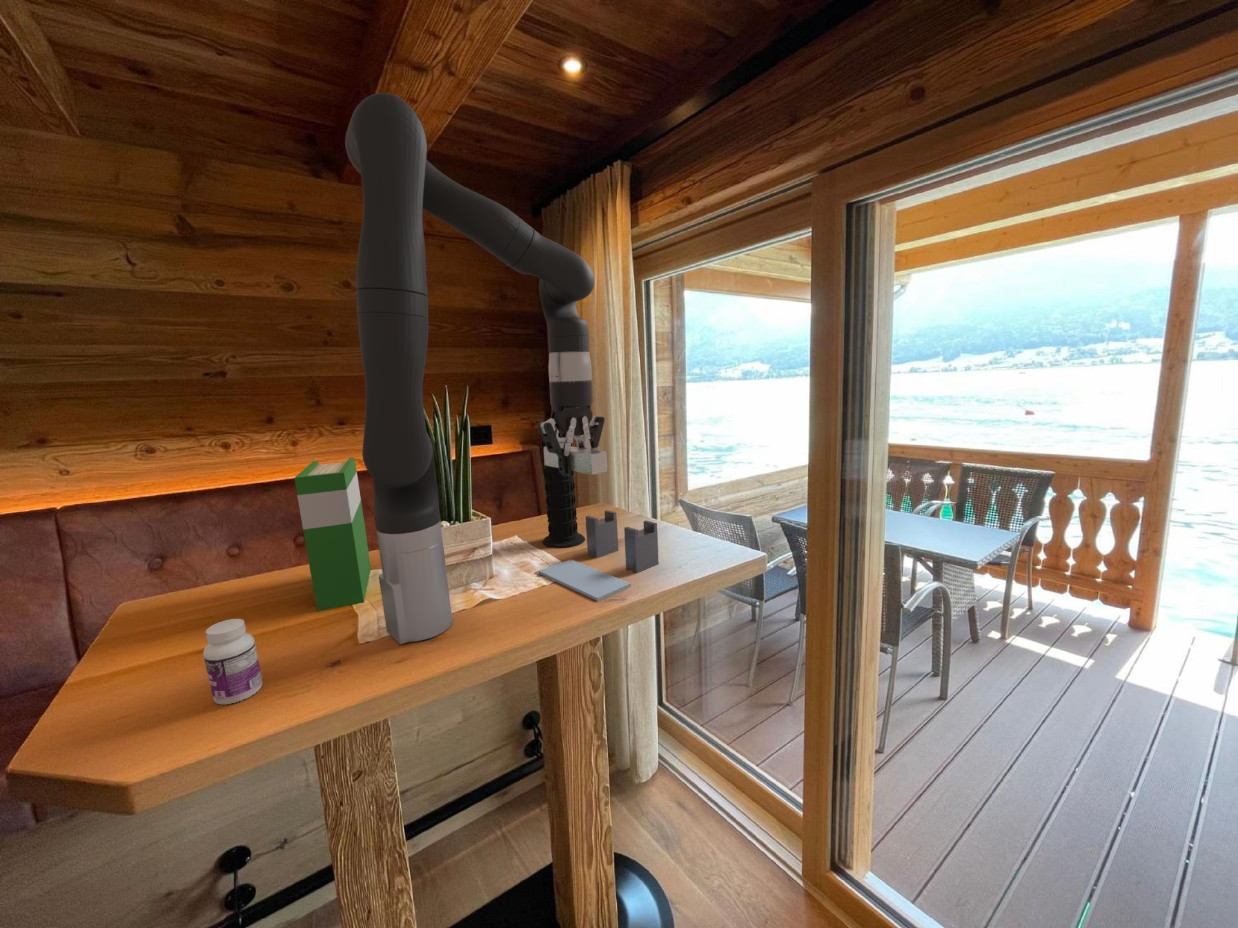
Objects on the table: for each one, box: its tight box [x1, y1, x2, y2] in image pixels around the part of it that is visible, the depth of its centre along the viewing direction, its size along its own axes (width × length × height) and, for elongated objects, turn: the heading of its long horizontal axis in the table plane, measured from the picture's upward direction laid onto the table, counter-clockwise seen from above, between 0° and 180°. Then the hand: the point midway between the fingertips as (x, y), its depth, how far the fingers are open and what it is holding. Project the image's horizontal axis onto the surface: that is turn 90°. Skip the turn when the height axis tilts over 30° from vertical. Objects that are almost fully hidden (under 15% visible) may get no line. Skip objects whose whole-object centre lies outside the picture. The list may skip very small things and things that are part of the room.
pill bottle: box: [202, 618, 263, 706], centre depth 67 cm, size 5×5×10 cm
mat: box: [538, 559, 632, 602], centre depth 98 cm, size 8×18×1 cm, turn 43°
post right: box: [623, 519, 659, 574], centre depth 102 cm, size 6×3×9 cm, turn 133°
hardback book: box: [294, 456, 372, 612], centre depth 97 cm, size 18×7×24 cm, turn 22°
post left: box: [585, 509, 619, 559], centre depth 111 cm, size 6×3×9 cm, turn 132°
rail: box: [543, 446, 608, 476], centre depth 94 cm, size 4×14×4 cm, turn 43°
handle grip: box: [540, 428, 586, 549], centre depth 118 cm, size 10×26×10 cm
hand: (575, 473), depth 94 cm, fingers closed on rail, 3 cm apart
